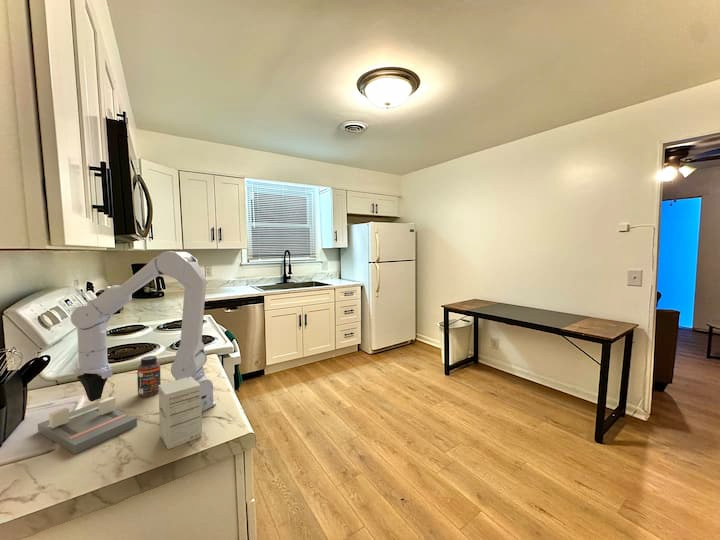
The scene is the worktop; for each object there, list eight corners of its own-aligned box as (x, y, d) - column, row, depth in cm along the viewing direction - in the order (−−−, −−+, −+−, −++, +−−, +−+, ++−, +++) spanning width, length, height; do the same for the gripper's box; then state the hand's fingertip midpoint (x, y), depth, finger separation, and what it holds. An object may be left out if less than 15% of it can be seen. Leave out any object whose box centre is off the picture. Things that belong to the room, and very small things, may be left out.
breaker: (69, 421, 72) (68, 408, 72) (52, 428, 70) (52, 414, 70) (66, 420, 73) (65, 407, 73) (49, 426, 70) (49, 413, 70)
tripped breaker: (115, 409, 78) (115, 397, 78) (101, 415, 75) (101, 402, 75) (112, 408, 79) (112, 396, 79) (98, 413, 76) (98, 401, 76)
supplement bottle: (141, 399, 89) (140, 362, 88) (135, 394, 92) (133, 358, 92) (164, 392, 93) (163, 356, 93) (157, 387, 97) (155, 353, 97)
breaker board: (137, 425, 75) (136, 417, 75) (75, 454, 64) (74, 444, 64) (98, 409, 83) (98, 401, 83) (38, 431, 72) (37, 423, 72)
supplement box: (159, 436, 70) (157, 384, 70) (193, 424, 76) (192, 375, 75) (166, 451, 65) (164, 394, 64) (203, 436, 70) (201, 384, 70)
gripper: (60, 350, 79) (62, 400, 79) (87, 358, 72) (89, 412, 73) (93, 343, 85) (95, 389, 86) (121, 350, 79) (122, 400, 79)
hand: (95, 399), depth 80 cm, fingers closed
